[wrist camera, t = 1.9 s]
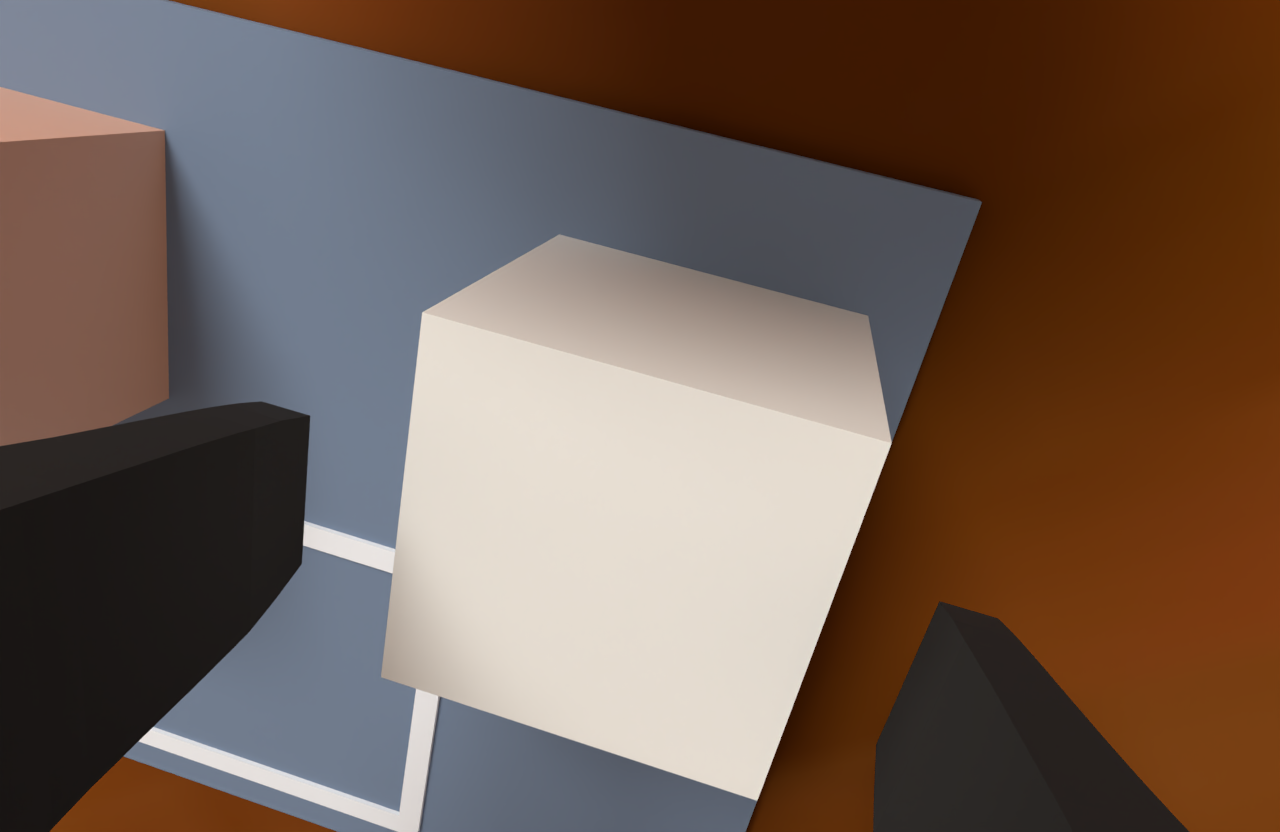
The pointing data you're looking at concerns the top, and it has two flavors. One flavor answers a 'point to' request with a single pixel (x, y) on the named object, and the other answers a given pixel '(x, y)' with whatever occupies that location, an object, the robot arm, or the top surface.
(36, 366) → the terracotta block
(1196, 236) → the top surface
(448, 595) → the offwhite block
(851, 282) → the mat
